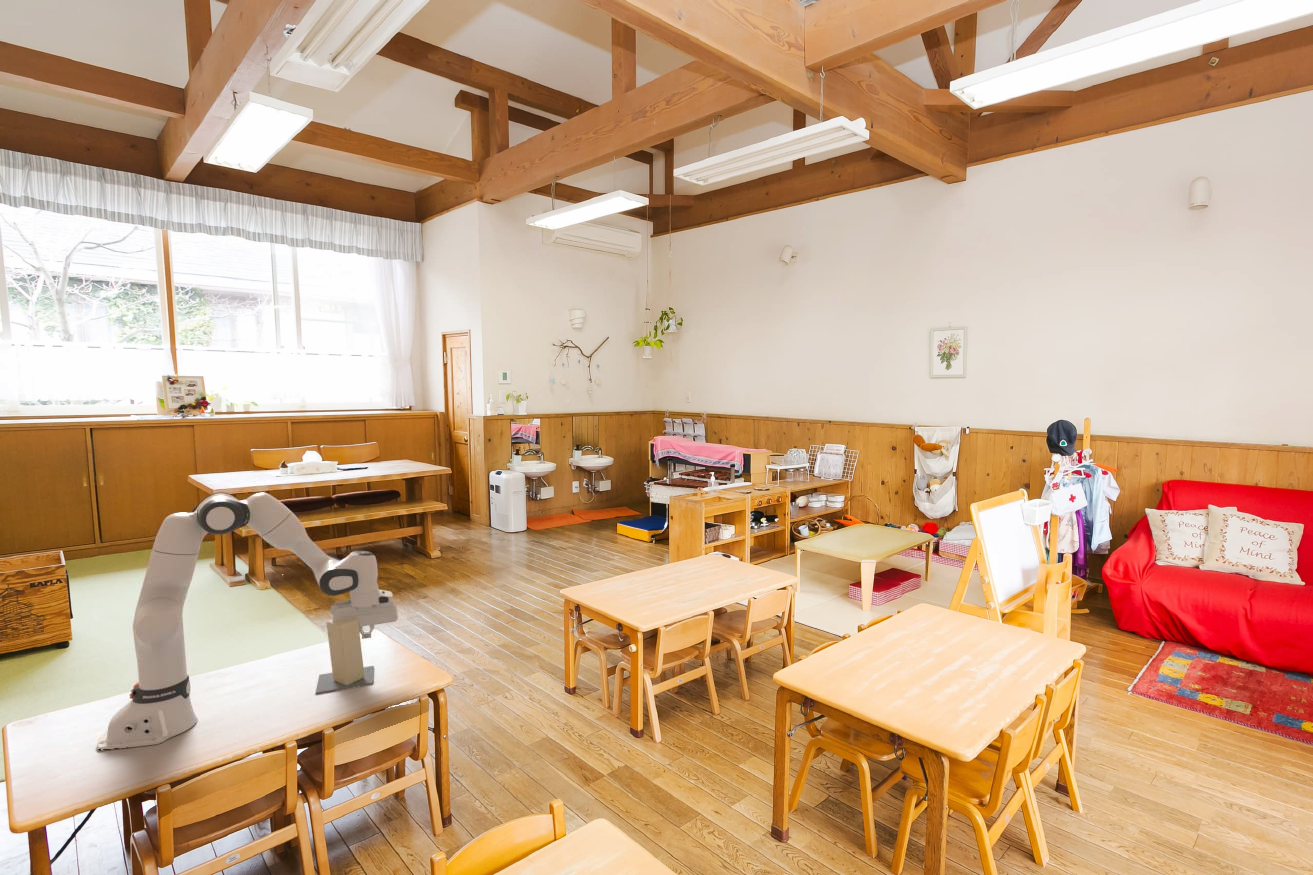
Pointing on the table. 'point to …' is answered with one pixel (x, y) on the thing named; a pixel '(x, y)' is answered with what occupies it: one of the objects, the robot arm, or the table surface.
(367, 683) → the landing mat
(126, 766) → the table surface
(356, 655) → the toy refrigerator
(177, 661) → the robot arm
